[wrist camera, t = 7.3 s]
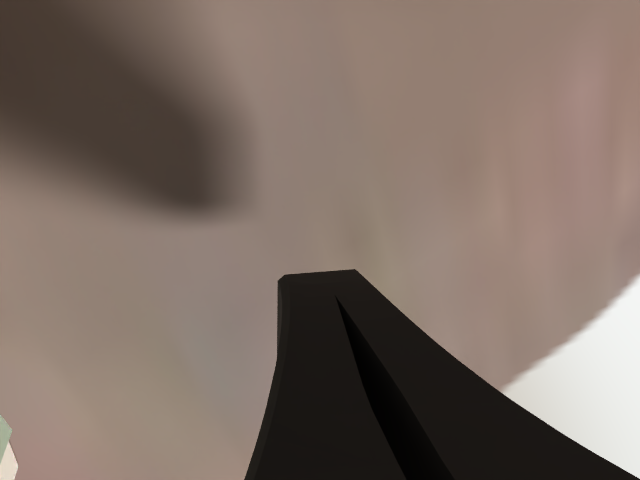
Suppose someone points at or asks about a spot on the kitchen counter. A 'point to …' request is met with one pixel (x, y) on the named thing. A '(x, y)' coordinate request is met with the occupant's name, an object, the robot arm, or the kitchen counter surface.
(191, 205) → the kitchen counter surface
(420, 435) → the robot arm
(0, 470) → the stool seat
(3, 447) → the hinged leg
